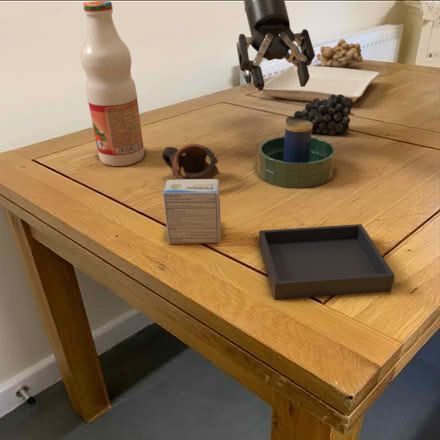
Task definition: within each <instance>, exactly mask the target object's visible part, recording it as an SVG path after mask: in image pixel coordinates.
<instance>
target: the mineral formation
mask: <svg viewBox="0 0 440 440" xmlns="http://www.w3.org/2000/svg"><path fill="white" fill-rule="evenodd" d="M319 50H320V52H319V53H317V54H316V59H317V61H319V62H321V64H320V67H334V68H346V67H349V66H350V65H351V63H352V64H354V65H355V64H356V63H358V64H361V63H362V62H363V61H364V58H363V56H362V53H361V52H362V48H361V44H360V43H353V42H351V43H348V42H347V41H346V40H345V39H343V38H341V39H339V40H338V43H337V45H334V46H333V47H332V46H328V45H326V46H323V45H322V46H320V48H319Z"/></svg>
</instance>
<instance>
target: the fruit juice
mask: <svg viewBox="0 0 440 440" xmlns="http://www.w3.org/2000/svg"><path fill="white" fill-rule="evenodd" d="M113 8H114V7H113V4H112V2H111V0H93V1H86V2H83V11H84V14H85V16H86V18H87V32H86V38H85V39H86V40H85V42H84V44H83V46H82V49H81V52H80V61H81V66H82V68H83V71H84V72H85V74H86V84H85V90H86V97H87V98H86V99H87V103H88V108H89V113H90V116H91V118H90V119H91V123H92V128H93V129H92V130H93V133H94V139H95V145H96V149H97V155H98V158H99V160H100V162H101V163H102V164H103V165H106V166H111V167H126V166H130V165H134V164H137V163H139V162H140V161H142V160H143V159H144V155H145V148H144V141H143V140H144V139H143V133H142V132H143V131H142V126H141V117H140V109H139V102H138V93H137V87H136V83H135V80H134V79H133V76H132V74H131V73H132V72H131V70H132V54H131V51H130V49H129V47H128V45H127V44H126V43H125V42H124V40H122V38H121V37H120V35H119V32H118V31H117V28H116V26H115V23H114V19H113V13H114V12H113Z"/></svg>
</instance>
